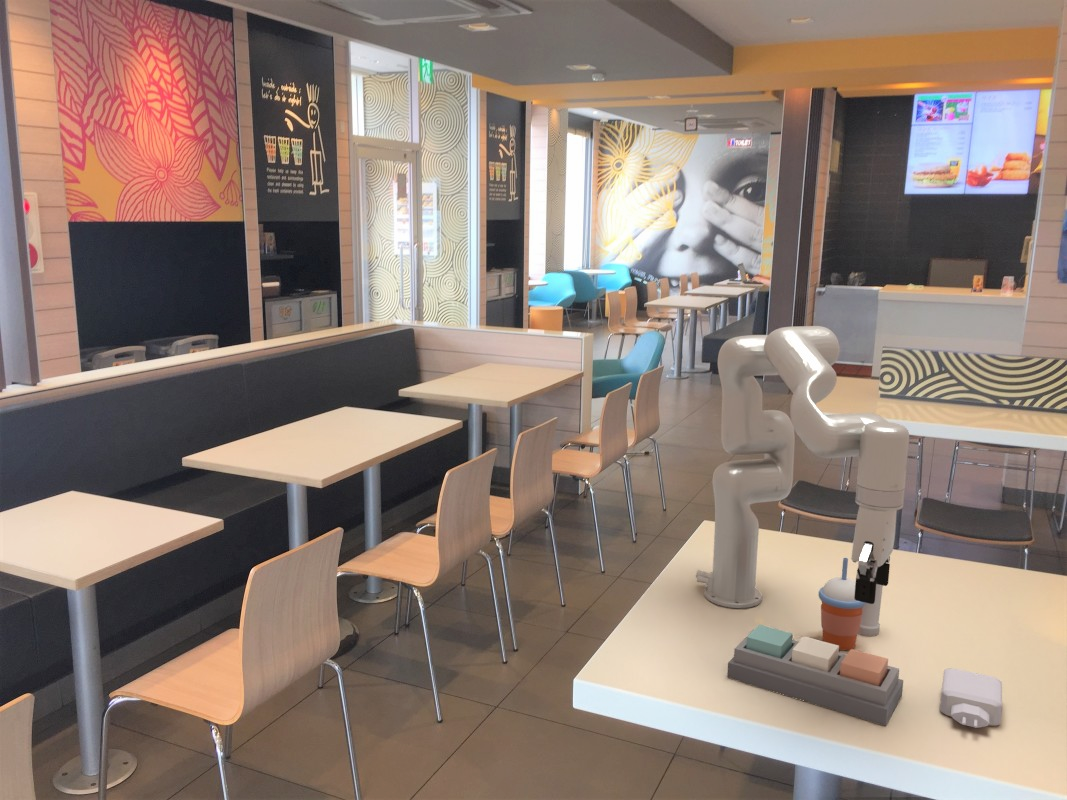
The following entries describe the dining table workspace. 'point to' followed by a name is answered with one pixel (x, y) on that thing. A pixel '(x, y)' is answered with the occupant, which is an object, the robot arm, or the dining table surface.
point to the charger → (971, 698)
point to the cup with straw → (840, 611)
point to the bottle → (871, 615)
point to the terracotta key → (864, 667)
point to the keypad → (818, 684)
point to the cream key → (815, 654)
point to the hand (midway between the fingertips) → (871, 592)
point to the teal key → (769, 641)
